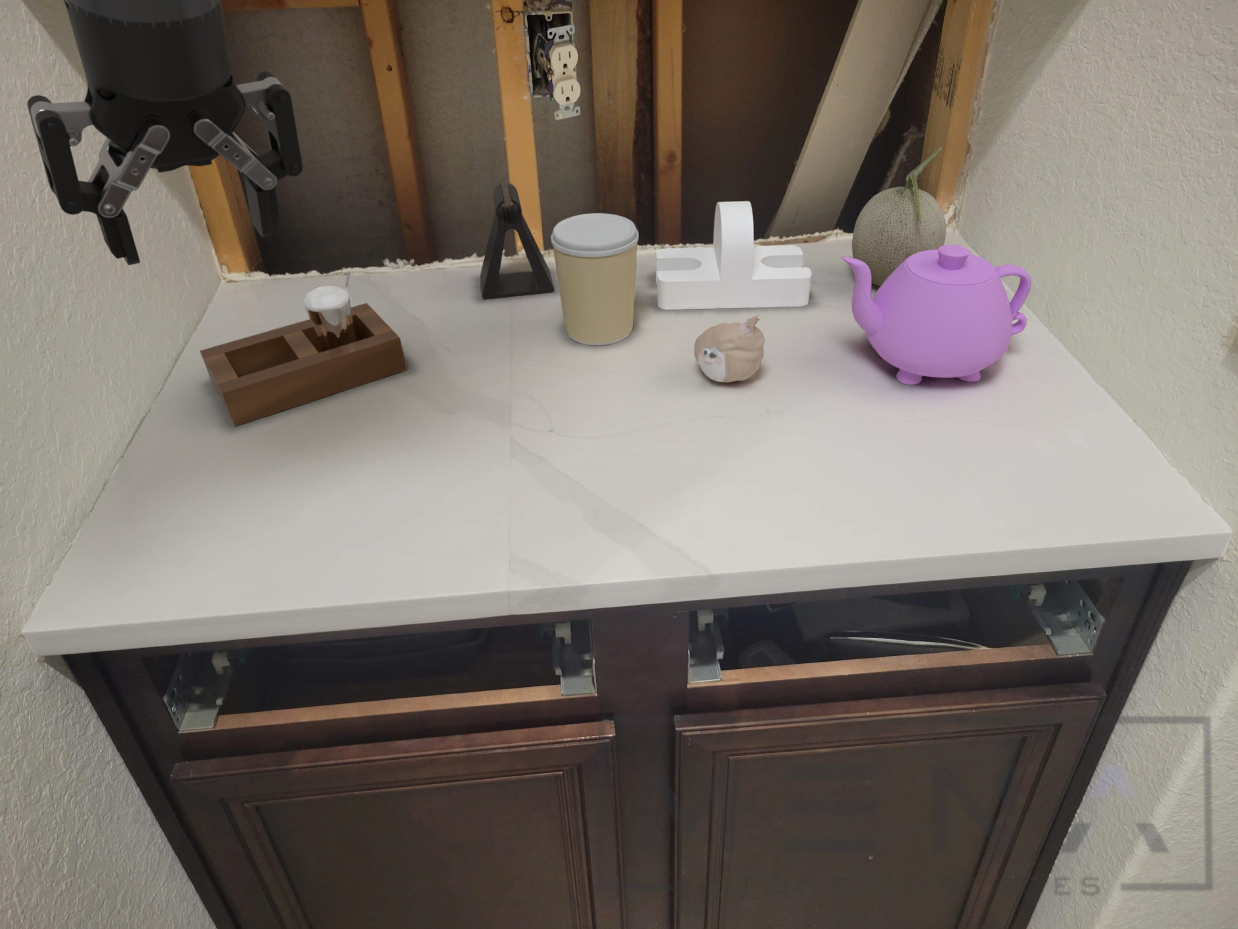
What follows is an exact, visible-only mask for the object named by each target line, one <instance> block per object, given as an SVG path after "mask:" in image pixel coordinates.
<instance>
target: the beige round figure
mask: <svg viewBox="0 0 1238 929" xmlns="http://www.w3.org/2000/svg"><path fill="white" fill-rule="evenodd" d="M759 316H760V315H759V314H757V315H755V316H753V317H750V318H748V319H747V321H746V322H742V323H739V322H731V323H727V322H723V323H718V324H715V325H712V326H710V327H709V328H707V329H706V330H704V331H703V332H702V333H701V334H700V335H698V336H697V338H696V339H695V341H694V345H693V346H694V348H693V349H694V350H693V353H694V358H695V360H696V362H697V363H698V364H699V367H700V369H701V372H703V373H704V375H705V376H706V377H707V378H709V379H711V380H712V381H715V382H718V383H732V382H741V381H743V382H744V381H746V380H748V379H750V378H751V377H753V376H754V374H755V373H756V372H757V371H758V370H759V368H760V366H761V365H762V362H763V360H764V355H765V350H764V345H765V340H766V338H765V334H764V333H763V331H762V330H761V329H760V328H759V327H757V326H756V325H757V323H759V321H760V320H761V318H759Z"/></svg>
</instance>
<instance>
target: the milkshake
mask: <svg viewBox="0 0 1238 929" xmlns="http://www.w3.org/2000/svg"><path fill="white" fill-rule="evenodd" d="M350 276H351V273H350V272H349V271H347V273H346V278H345V285H344V288H341V287H339V286H336V285H321V286H318V287H316V288H314V289H311V290H310V291H308V292H307V293H306V295H305V296H304V298H303V299H304V300H303V306H304V308H305V311H306V313H307V315H308V319H310V321H311V323H312V325H313V327H314V329H315V332H316V334H317V337H318V339H319V342H320V345H321V347H322V350H323V352H324V351H327V350H331V349H334V348H337V347H340V346H344V345H347V344H350V343H353V342H356V337H355V332H354V326H353V319H352V312H351V307H352V304H351V299H350V294H349V292H348V291H349V290H348V288H349V282H350Z"/></svg>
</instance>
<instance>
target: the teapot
mask: <svg viewBox="0 0 1238 929" xmlns="http://www.w3.org/2000/svg"><path fill="white" fill-rule="evenodd" d="M970 252H971V251H970V250H969V249H968V248H967V247H965V246H963V245H959V244H944V245H943V246H940V247H939V248H938V250H927V251H922V252H918V253H916V254H914V255H912V256H910V257H908V258H907V259H906V260H905V261H904V262H903V263H902V264H900V265H899V266H898V267H897V268H896V270H895V271H894V272H893V273H892V274H891V275H890V276H889V277H888V278H887V279H886V280H885V282H884V283H883V284H882V285H881V286H879V287H878V289H877V291H876V292H875V294H874V296H873V297H872V283H871V272H870V269H869V267H868V265H867V264H866V263H864V262H863V261H860V260H858V259H854V258H853V257H850V256H842V257H841V259H842V260H843V261H844V262H845V263H846V264H847V265H848V266H849V267H850V268H851V270H852V272H853V276H854V284H853V290H852V296H851V312H852V315H853V319H854V320H855V322H856V324H857V325H858V326H859V328H860V329H862V330H863V331H864V334H865V336H866V338H867V340H868V342H869V344H870V345H871V346H872V348H873V349H874V350H875V352H876V353H877V354H878V356H879V357H881V358H882V360H884V361H886V363H888V364H890V365H892V366H893V367H895V368H897V369H899V370H898V372H897V373H896V376H895V378H896V380H897V381H898V382H900V383H902V384H905V385H913V386H914V385H918V384H920V383H921V382H922V380H923V377H930V378H943V379H946V378H947V379H948V378H949V379H951V378H957V379H959V380H961V381H963V382H968V383H973V382H974V383H975V382H978V381H981V378H982V375H981V372H980V371H982V370H984V369H986V368H988V367H990V366H992V365H994V363H996V362H998V360H1000V359H1001V358H1003V356H1004V355H1005V354H1006V353H1007V351H1008V350H1009V347H1010V343H1011V340H1012V336H1015V335H1018V334H1020V333H1022V332H1023V331H1024V330H1025V329H1026V327H1027V323H1028V322H1027V320H1028V319H1027V317H1026V314H1024V313H1023V312H1020V310H1021V308H1022V307H1023V305H1024V303H1025V302H1026V300H1027V298H1028V296H1029V294H1030V291H1031V289H1032V278H1031V275H1030V273H1029V272H1028V271H1027V270H1026V269H1025V268H1023V267H1021V266H1019V265H1016V264H1012V263H1011V264H1009V263H1008V264H1002V265H998V266H994V265H993V264H992V263H991V262H989V261H988V260H987V259H986V258H983V257H981V256H979V255H976V254H974V253H970ZM1010 276H1011V277H1012V276H1014V277H1018V278H1019V284H1018V286H1017V289H1016V291H1015V293H1014V295H1013V296H1012V298H1011V300H1009V297H1008V294H1007V291H1006V289H1005V286H1004V284H1003V281H1002V278H1005V277H1010ZM1015 320H1017V321H1016V322H1015V323H1013V321H1015Z"/></svg>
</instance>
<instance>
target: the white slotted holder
mask: <svg viewBox="0 0 1238 929" xmlns="http://www.w3.org/2000/svg"><path fill="white" fill-rule="evenodd" d="M754 230H755V229H754V215H753V207H752V204H751V202H750V201H749V200H743V201H718V202H716V206H715V211H714V220H713V243H712V246H707V247H705V246H704V247H669V248H667V247H665V248H660V249H657V250H656V251H655V285H656V287H657V288H656V290H657V291H656V296H657V298H656V299H657V307H658V308H659V309H661V310H665V311H669V310H670V311H672V310H676V311H677V310H712V309H713V310H715V309H754V308H756V309H757V308H795V307H798V308H800V307H805V306H808V304H809V302H810V292H811V285H812V277H813V274H812V271H811V268H810V266H806V267H805V266H804V267H803V263H804V255H805V254H804V252H803V249H802V248H801V247H800V246H798V245H793V244H791V245H790V244H788V245H784V244H783V245H782V244H781V245H754V244H755V242H754V241H755V240H754V239H755V236H754V234H755V233H754Z"/></svg>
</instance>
